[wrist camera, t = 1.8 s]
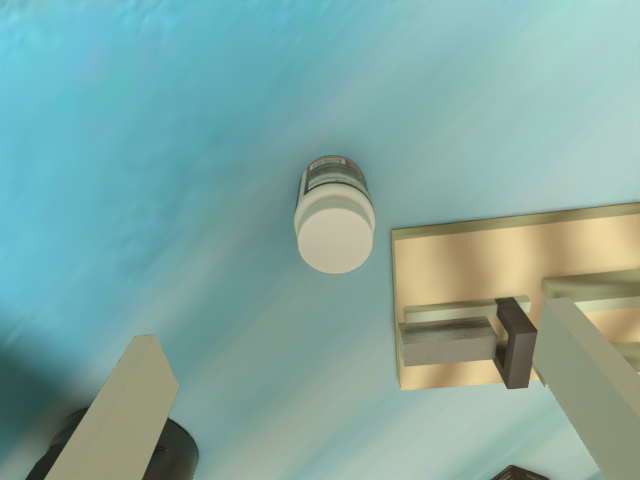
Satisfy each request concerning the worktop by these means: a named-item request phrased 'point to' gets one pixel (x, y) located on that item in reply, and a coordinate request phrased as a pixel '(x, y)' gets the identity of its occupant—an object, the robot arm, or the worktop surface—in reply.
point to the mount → (518, 285)
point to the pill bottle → (334, 216)
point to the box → (518, 475)
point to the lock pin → (447, 341)
